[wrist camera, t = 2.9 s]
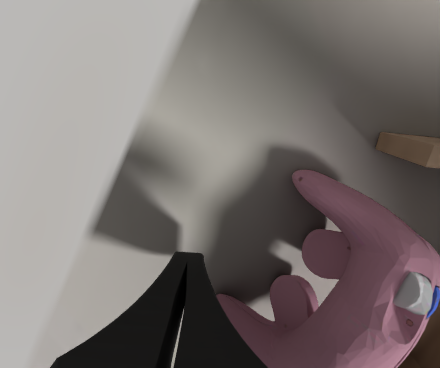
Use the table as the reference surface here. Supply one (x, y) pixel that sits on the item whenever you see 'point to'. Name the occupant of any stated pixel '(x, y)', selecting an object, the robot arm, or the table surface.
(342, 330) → the video game controller
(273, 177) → the table surface
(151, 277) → the table surface
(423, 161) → the docking cradle
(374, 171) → the table surface
